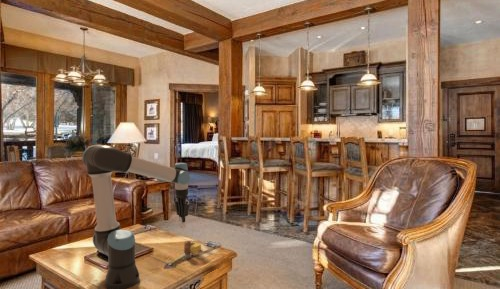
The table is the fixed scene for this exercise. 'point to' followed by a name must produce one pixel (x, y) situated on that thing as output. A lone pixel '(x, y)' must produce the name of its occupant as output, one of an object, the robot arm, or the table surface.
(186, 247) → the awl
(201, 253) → the plywood panel
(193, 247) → the yellow flat block
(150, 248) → the table surface
